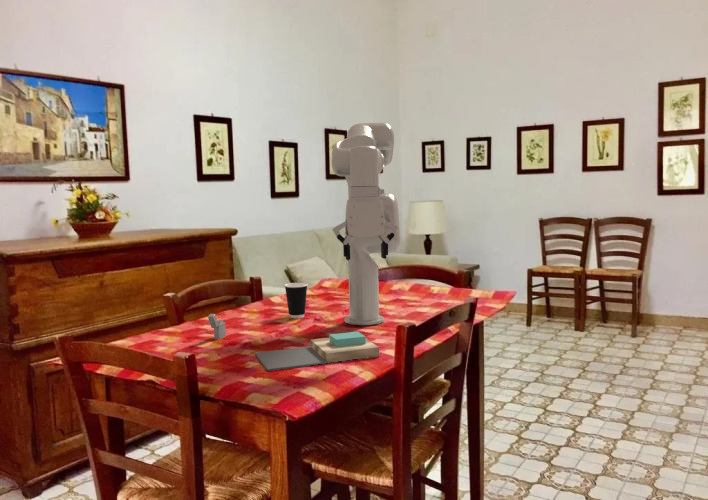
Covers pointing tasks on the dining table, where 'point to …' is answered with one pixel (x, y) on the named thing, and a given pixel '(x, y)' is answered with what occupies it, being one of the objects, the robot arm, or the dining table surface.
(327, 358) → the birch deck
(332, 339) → the teal tile
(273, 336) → the dining table surface
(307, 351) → the rubber mat
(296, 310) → the dixie cup
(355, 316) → the robot arm
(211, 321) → the lighter
